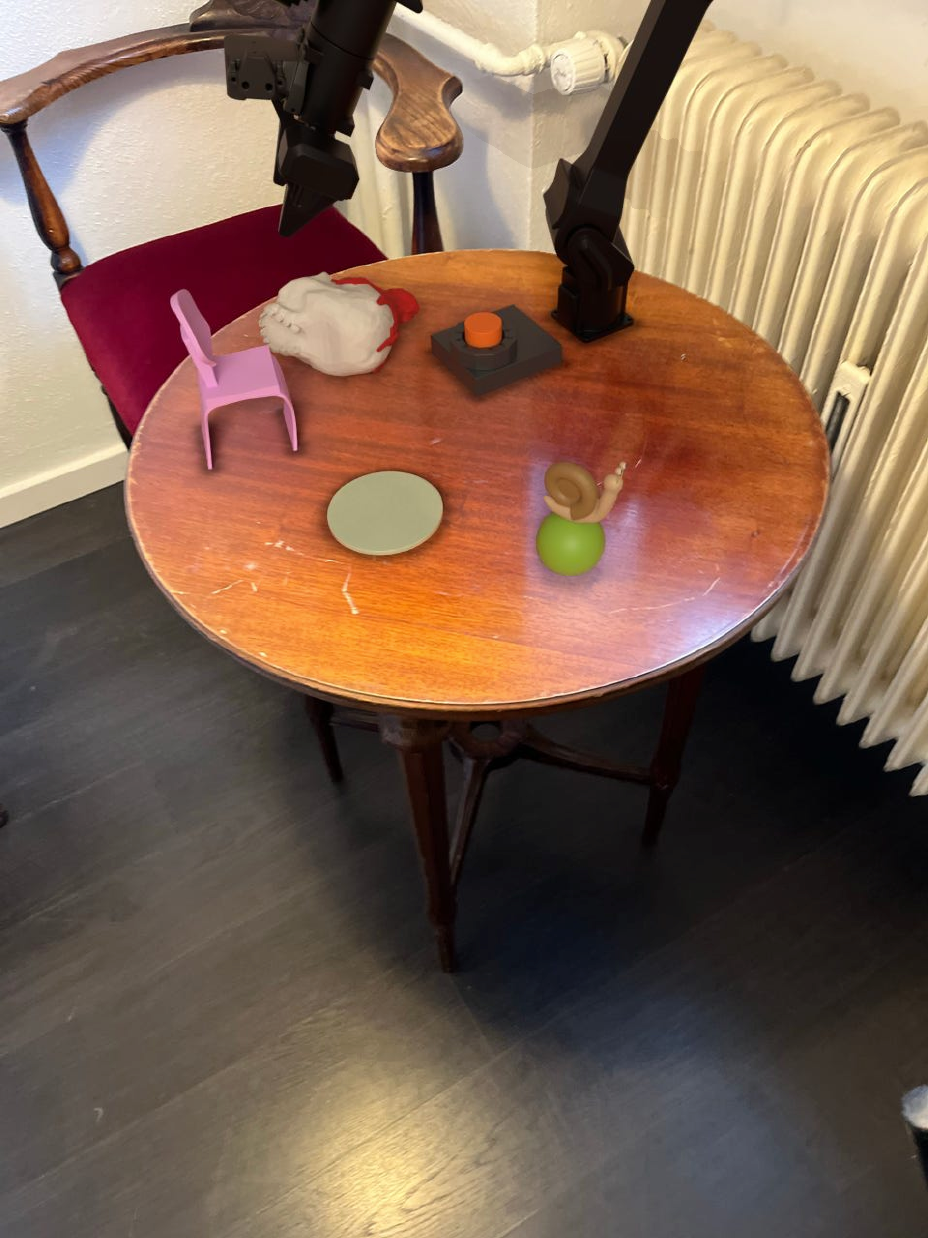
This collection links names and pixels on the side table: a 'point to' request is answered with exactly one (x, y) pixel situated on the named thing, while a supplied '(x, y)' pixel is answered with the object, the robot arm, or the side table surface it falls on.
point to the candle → (336, 323)
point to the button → (483, 330)
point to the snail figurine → (575, 518)
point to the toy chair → (229, 370)
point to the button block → (498, 353)
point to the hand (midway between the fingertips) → (280, 208)
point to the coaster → (385, 513)
